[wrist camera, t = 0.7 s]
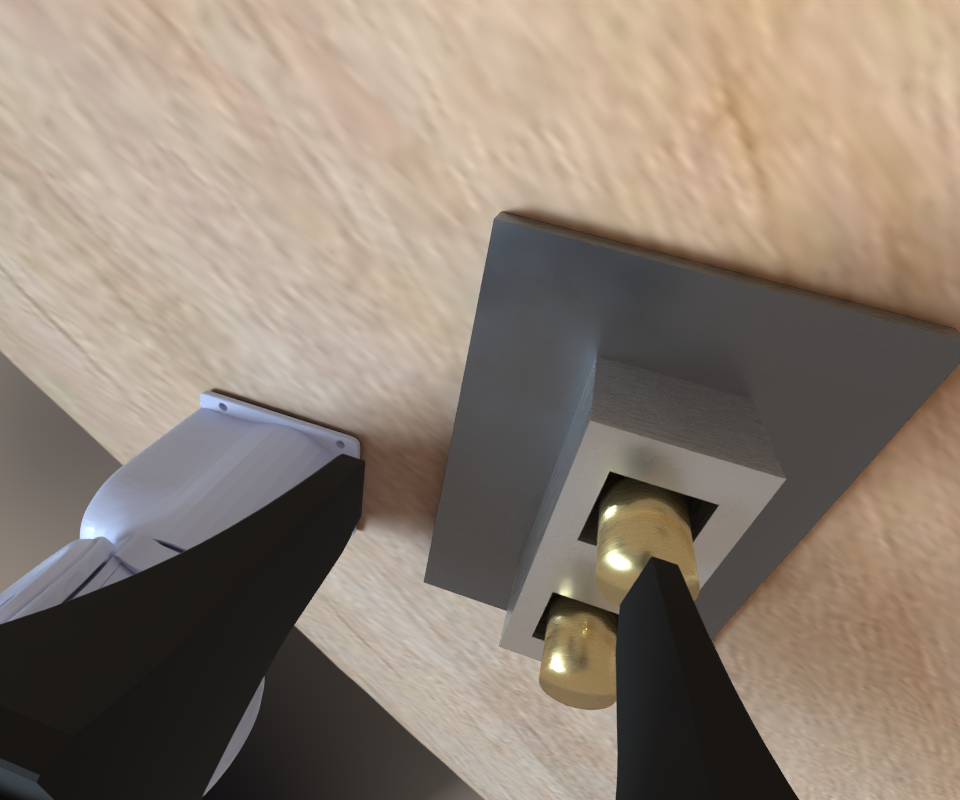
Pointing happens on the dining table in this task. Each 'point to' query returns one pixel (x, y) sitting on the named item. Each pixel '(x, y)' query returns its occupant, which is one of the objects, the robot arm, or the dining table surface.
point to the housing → (646, 457)
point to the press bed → (674, 352)
